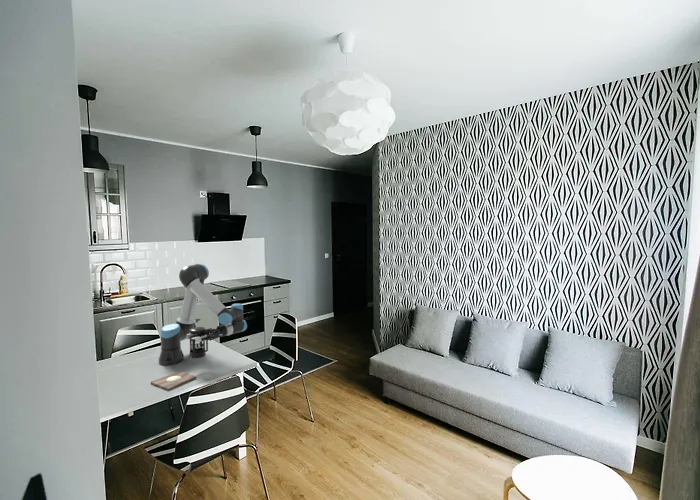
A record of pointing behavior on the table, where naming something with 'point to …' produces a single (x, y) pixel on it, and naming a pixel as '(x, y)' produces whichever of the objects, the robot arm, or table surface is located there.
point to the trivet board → (173, 380)
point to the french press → (197, 349)
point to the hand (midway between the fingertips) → (191, 338)
